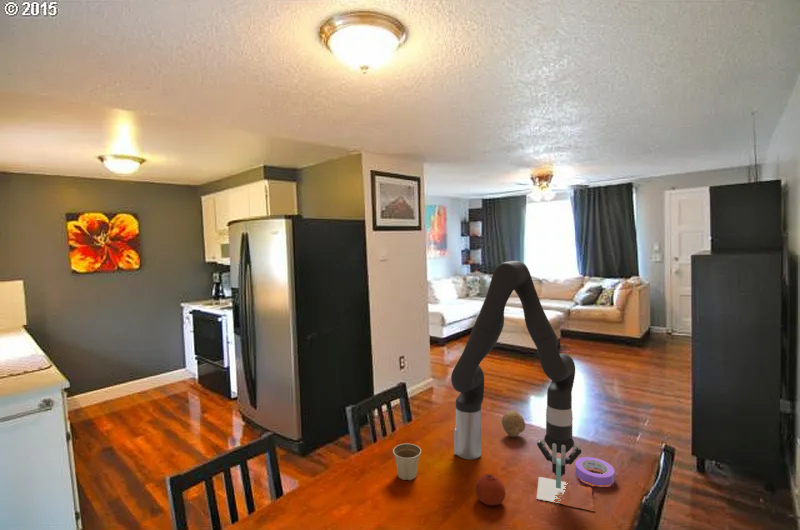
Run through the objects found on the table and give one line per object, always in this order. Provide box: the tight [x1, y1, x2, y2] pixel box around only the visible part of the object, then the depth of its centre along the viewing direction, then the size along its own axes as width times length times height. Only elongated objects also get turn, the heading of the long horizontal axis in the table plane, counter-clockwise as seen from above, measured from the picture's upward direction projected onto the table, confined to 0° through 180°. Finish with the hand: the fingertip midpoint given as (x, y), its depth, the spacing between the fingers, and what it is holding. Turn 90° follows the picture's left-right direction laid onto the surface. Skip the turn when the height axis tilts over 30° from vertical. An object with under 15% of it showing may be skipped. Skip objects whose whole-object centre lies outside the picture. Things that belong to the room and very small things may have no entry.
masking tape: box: [574, 456, 616, 485], centre depth 134 cm, size 12×12×4 cm
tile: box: [555, 457, 562, 489], centre depth 125 cm, size 1×8×6 cm, turn 158°
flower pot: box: [392, 442, 422, 481], centre depth 136 cm, size 9×9×9 cm
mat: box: [536, 476, 568, 503], centre depth 126 cm, size 16×12×1 cm
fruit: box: [474, 473, 506, 506], centre depth 122 cm, size 9×9×8 cm
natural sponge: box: [501, 410, 526, 438], centre depth 162 cm, size 9×9×10 cm
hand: (558, 474), depth 126 cm, fingers closed on tile, 1 cm apart
